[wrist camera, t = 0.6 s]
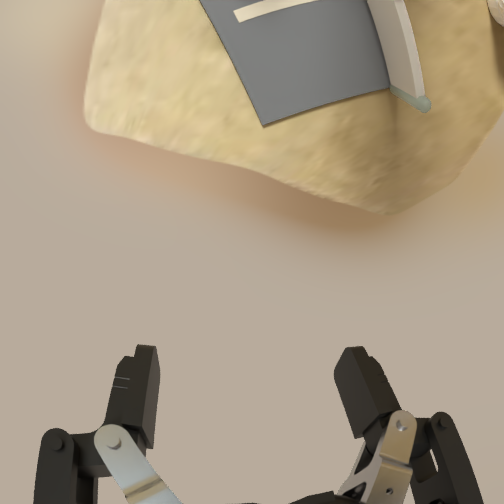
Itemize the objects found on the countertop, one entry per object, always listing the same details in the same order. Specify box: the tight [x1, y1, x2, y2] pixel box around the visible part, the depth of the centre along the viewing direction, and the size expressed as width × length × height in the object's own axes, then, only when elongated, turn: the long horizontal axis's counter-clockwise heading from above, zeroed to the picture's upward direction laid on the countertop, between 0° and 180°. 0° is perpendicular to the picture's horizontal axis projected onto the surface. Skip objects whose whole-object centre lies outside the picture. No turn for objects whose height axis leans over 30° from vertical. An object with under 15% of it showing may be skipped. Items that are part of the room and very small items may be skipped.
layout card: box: [200, 0, 391, 125], centre depth 21 cm, size 23×21×1 cm
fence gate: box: [367, 0, 431, 113], centre depth 20 cm, size 13×2×7 cm, turn 23°
